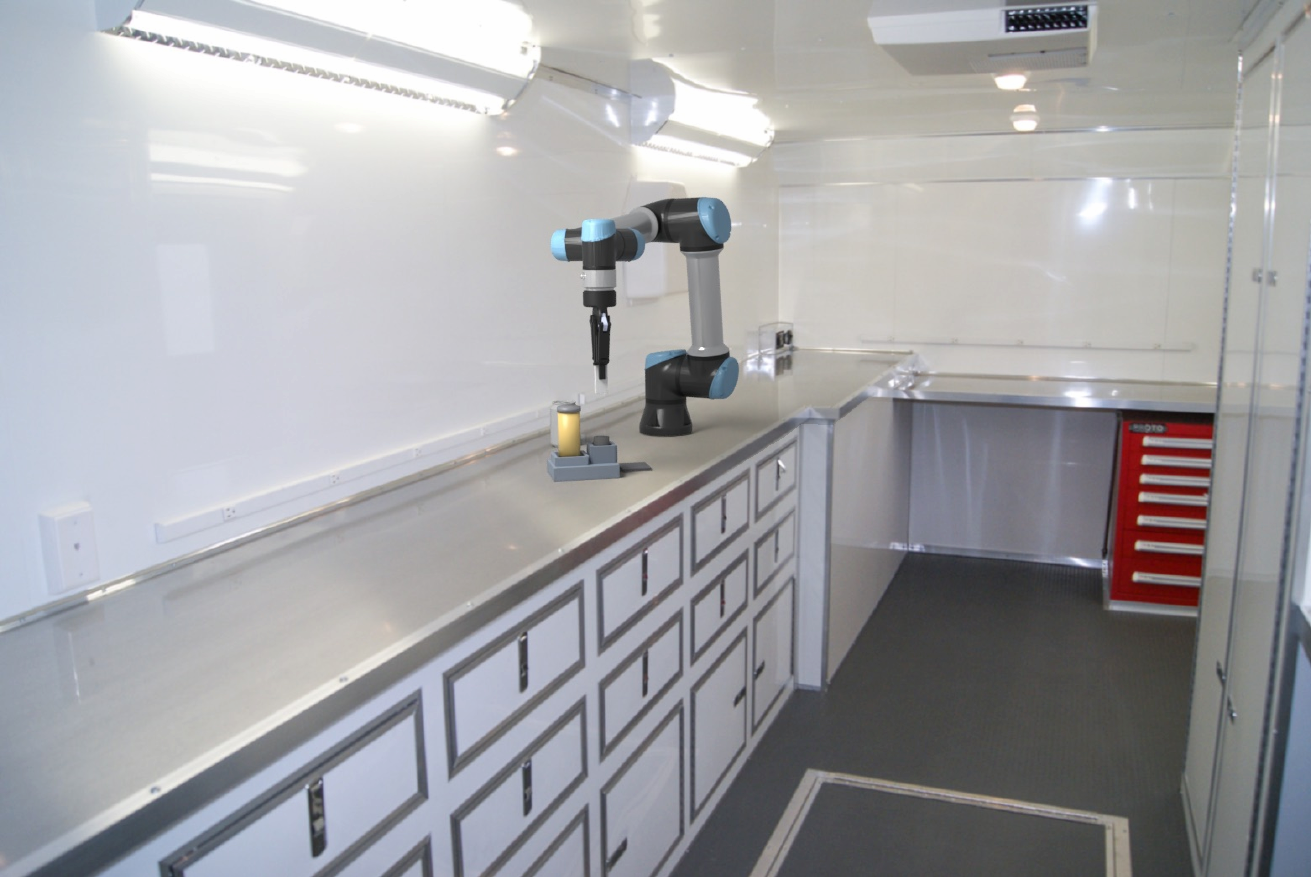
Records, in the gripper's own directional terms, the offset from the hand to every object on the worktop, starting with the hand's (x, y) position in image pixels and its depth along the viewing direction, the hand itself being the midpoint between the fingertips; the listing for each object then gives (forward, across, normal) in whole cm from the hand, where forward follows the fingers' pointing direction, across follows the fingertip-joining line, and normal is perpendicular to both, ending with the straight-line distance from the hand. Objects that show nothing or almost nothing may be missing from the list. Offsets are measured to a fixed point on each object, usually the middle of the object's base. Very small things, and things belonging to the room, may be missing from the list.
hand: (601, 393), depth 237 cm
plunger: (+15, 0, 0) cm, 15 cm away
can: (+19, -36, -3) cm, 41 cm away
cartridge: (+16, 0, -8) cm, 18 cm away
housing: (+19, 0, -5) cm, 19 cm away
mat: (+19, -4, +8) cm, 21 cm away
